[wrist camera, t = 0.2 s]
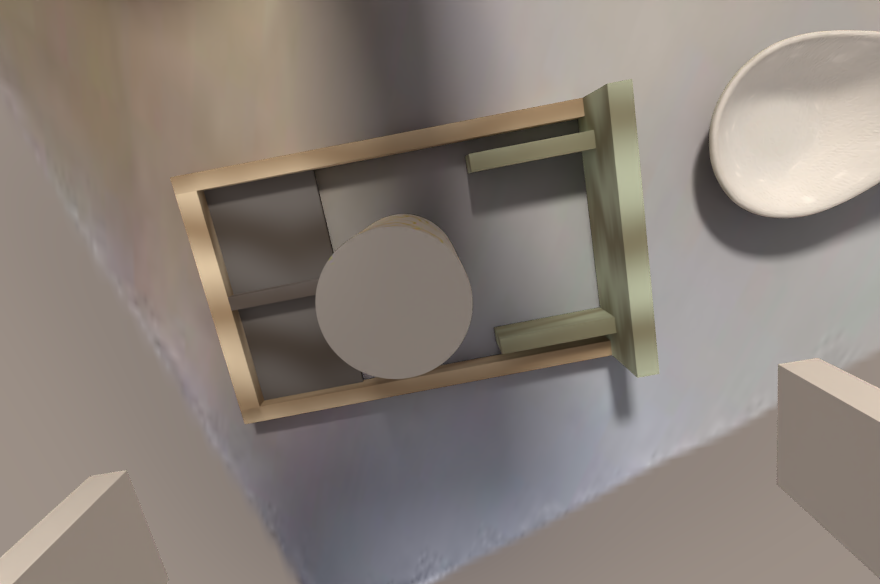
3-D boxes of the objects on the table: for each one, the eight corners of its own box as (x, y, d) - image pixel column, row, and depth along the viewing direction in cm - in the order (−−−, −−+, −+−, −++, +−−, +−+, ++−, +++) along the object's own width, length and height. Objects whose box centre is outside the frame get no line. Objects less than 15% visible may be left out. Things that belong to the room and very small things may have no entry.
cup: (446, 204, 35) (457, 212, 24) (465, 308, 37) (484, 363, 26) (339, 225, 36) (297, 243, 24) (363, 328, 37) (336, 391, 26)
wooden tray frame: (180, 177, 34) (131, 175, 29) (596, 97, 34) (632, 78, 28) (251, 415, 39) (220, 456, 33) (623, 345, 38) (659, 373, 32)
